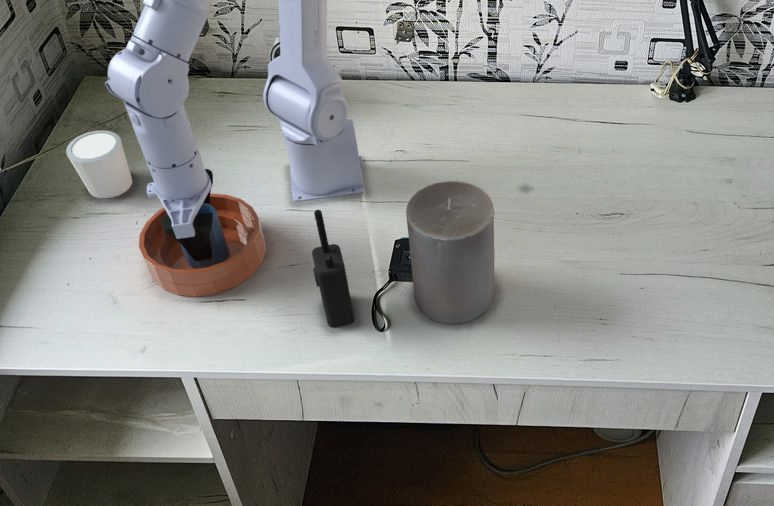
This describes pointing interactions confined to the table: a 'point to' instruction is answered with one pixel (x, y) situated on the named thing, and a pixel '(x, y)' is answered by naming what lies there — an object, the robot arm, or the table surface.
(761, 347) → the table surface
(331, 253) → the walkie-talkie
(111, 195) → the white cylinder
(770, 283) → the table surface
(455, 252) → the pillar candle
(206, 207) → the blue cup
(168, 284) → the bowl
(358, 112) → the table surface
